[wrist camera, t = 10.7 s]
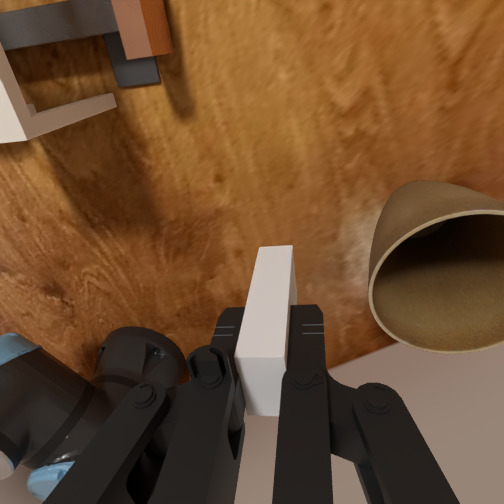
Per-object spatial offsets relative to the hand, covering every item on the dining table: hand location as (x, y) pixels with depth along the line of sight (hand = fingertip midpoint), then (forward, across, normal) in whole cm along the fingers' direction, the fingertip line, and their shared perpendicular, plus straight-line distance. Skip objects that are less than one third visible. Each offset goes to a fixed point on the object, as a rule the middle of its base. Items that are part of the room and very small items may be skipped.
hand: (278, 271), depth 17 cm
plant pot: (+28, -14, +11) cm, 33 cm away
